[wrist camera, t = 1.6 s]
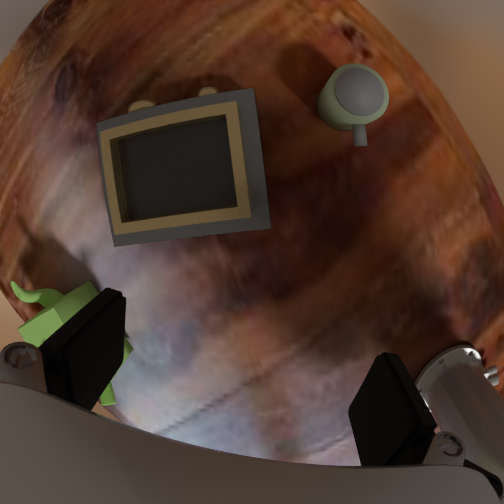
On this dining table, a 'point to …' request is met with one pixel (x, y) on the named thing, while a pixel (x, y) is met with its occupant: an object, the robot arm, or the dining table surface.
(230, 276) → the dining table surface
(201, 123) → the toy stove
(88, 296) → the kettle
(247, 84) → the dining table surface
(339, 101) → the pale green cup
